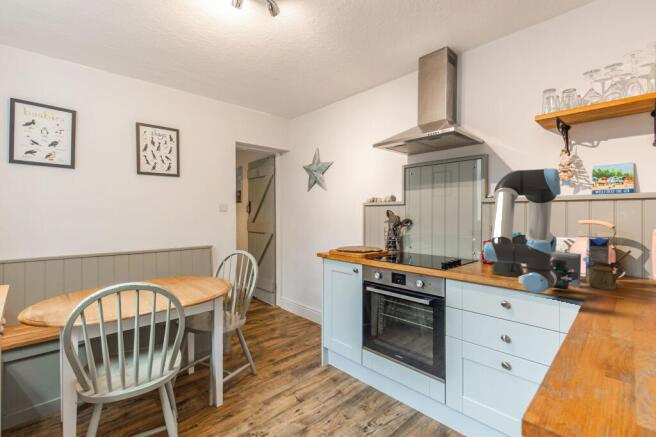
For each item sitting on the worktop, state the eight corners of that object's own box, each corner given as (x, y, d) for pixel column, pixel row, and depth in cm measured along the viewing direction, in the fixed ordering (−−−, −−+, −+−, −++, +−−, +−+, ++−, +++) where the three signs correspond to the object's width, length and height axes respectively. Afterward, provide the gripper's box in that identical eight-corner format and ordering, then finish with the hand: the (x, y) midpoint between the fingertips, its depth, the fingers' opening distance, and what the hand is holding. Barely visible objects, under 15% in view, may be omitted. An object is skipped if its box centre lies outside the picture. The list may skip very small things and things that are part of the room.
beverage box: (588, 283, 145) (589, 238, 144) (585, 279, 154) (586, 236, 153) (607, 286, 141) (609, 239, 140) (603, 281, 150) (604, 237, 149)
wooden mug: (630, 293, 128) (631, 251, 128) (588, 287, 138) (589, 248, 138) (629, 289, 135) (631, 249, 134) (590, 284, 144) (591, 246, 144)
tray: (518, 283, 145) (518, 276, 145) (526, 280, 152) (526, 273, 152) (544, 287, 137) (544, 280, 137) (551, 284, 144) (551, 277, 144)
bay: (546, 287, 138) (547, 253, 138) (553, 283, 145) (554, 251, 145) (573, 291, 130) (574, 256, 130) (580, 287, 137) (581, 253, 137)
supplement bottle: (563, 290, 127) (564, 261, 127) (545, 286, 133) (546, 259, 133) (571, 288, 130) (572, 260, 130) (553, 284, 136) (554, 258, 136)
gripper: (518, 282, 128) (536, 275, 142) (577, 292, 112) (590, 283, 127) (518, 265, 127) (536, 259, 142) (577, 272, 112) (591, 266, 127)
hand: (562, 271), depth 134 cm, fingers closed on supplement bottle, 7 cm apart
